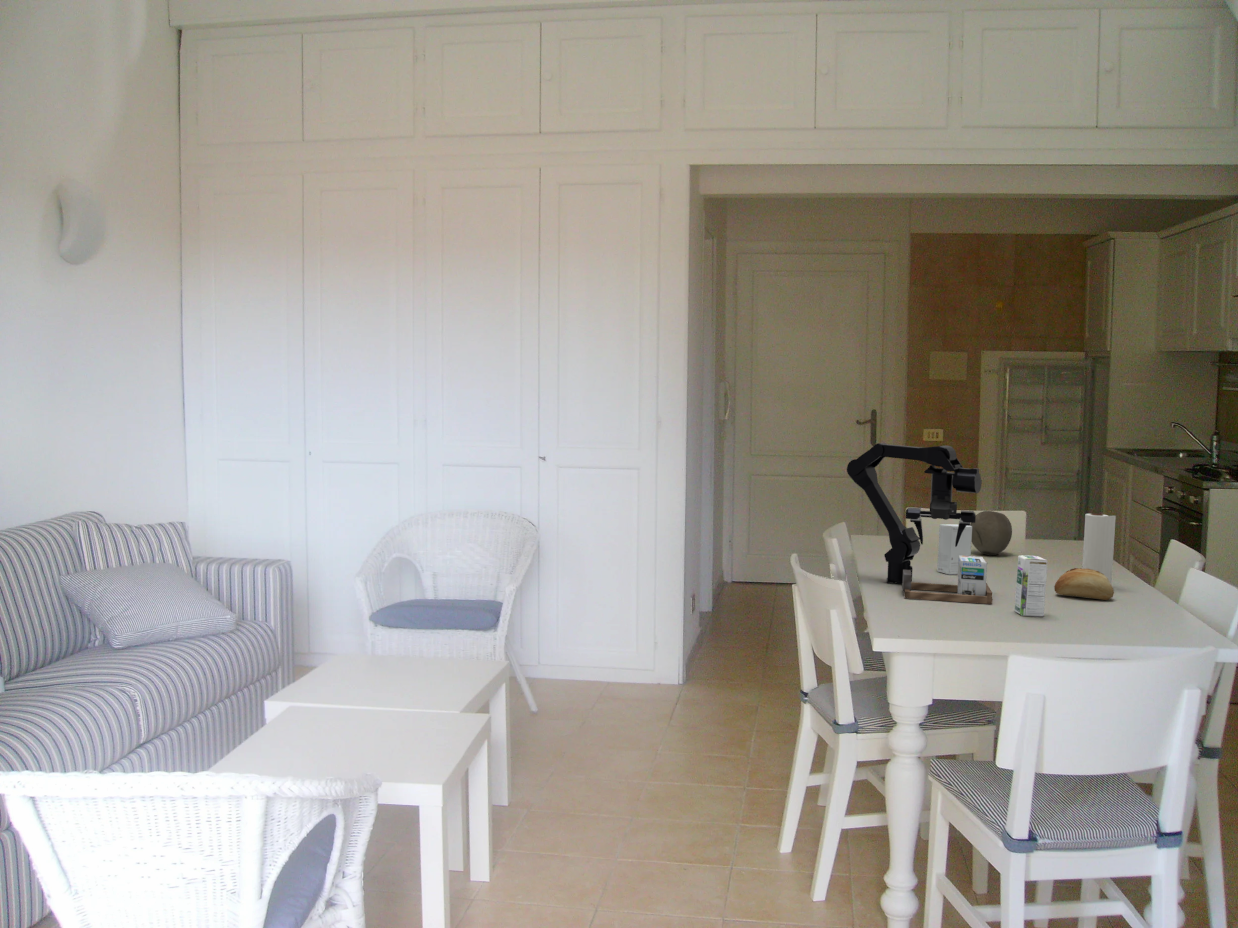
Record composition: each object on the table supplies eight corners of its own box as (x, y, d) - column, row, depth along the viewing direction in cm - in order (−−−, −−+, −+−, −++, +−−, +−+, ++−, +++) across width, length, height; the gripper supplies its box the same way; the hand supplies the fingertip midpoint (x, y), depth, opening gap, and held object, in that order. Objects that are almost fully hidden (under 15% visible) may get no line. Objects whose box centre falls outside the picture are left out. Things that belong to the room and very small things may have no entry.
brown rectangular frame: (903, 598, 284) (904, 576, 284) (901, 587, 299) (902, 567, 299) (991, 604, 279) (993, 582, 279) (985, 593, 294) (986, 572, 294)
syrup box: (1013, 611, 271) (1016, 554, 270) (1037, 612, 271) (1040, 555, 270) (1021, 616, 266) (1024, 558, 265) (1045, 616, 266) (1048, 559, 264)
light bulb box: (985, 602, 282) (988, 562, 281) (959, 600, 283) (961, 560, 283) (981, 595, 292) (983, 556, 291) (956, 593, 294) (958, 554, 293)
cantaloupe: (1017, 558, 358) (1019, 514, 357) (975, 557, 358) (977, 513, 357) (1003, 551, 372) (1005, 509, 371) (962, 550, 372) (964, 508, 371)
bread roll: (1052, 592, 299) (1054, 564, 299) (1110, 596, 295) (1112, 568, 294) (1055, 598, 290) (1056, 569, 290) (1115, 603, 286) (1117, 573, 285)
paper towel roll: (1078, 587, 307) (1082, 513, 305) (1085, 584, 311) (1089, 512, 310) (1104, 591, 302) (1108, 516, 301) (1111, 588, 307) (1115, 514, 305)
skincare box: (949, 575, 323) (951, 526, 321) (935, 571, 328) (938, 523, 327) (971, 573, 326) (973, 525, 325) (957, 570, 331) (960, 522, 330)
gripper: (905, 491, 295) (903, 547, 296) (977, 494, 289) (974, 551, 290) (907, 487, 305) (905, 541, 306) (976, 491, 300) (973, 546, 301)
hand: (938, 545), depth 301 cm, fingers open, 9 cm apart
